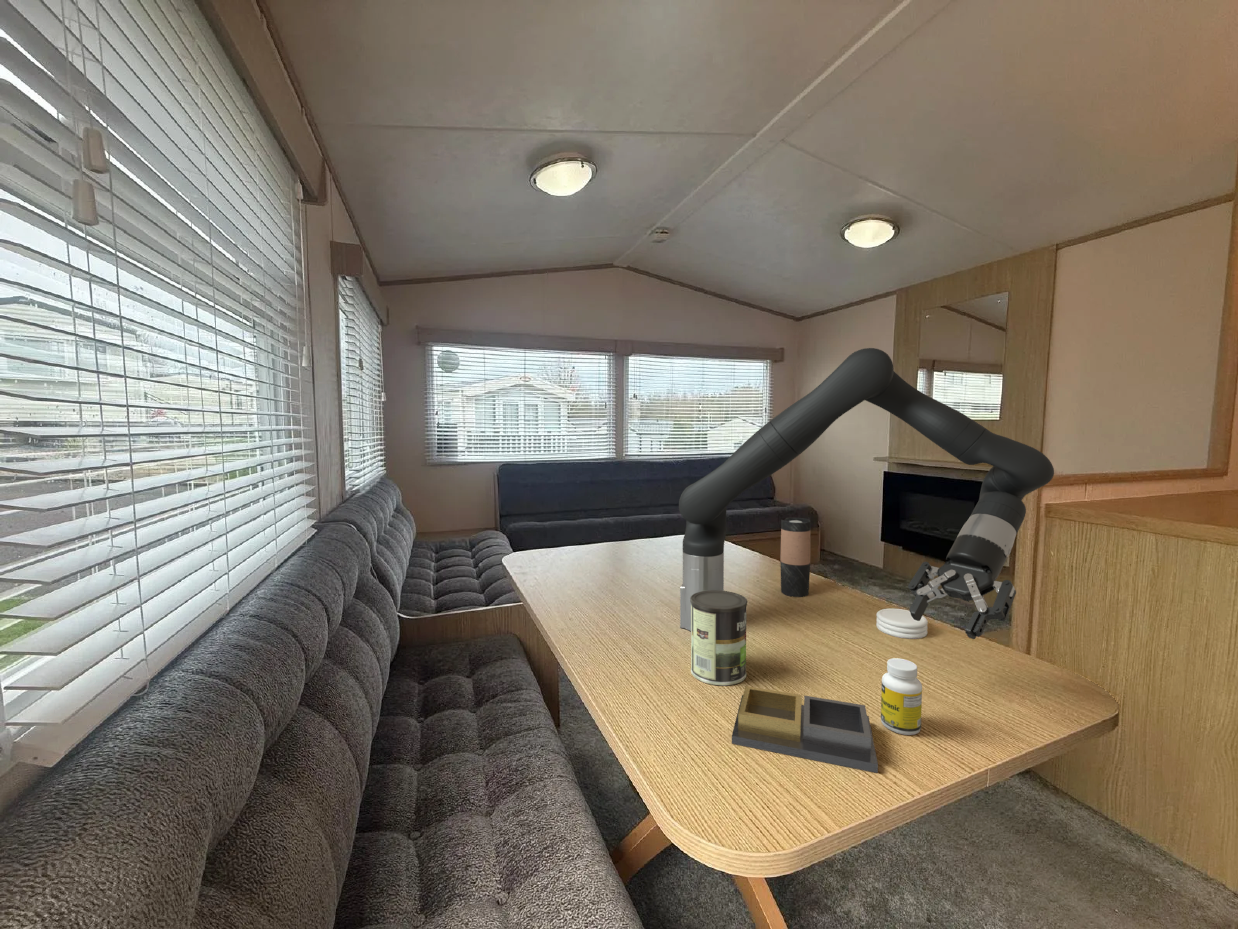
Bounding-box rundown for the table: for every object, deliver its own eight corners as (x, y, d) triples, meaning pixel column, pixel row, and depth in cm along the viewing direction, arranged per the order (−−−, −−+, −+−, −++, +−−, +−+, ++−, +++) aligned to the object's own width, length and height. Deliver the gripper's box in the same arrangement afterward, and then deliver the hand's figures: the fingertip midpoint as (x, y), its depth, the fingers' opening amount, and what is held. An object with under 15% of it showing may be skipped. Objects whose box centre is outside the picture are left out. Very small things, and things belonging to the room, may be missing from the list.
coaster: (938, 638, 111) (939, 622, 111) (896, 641, 110) (896, 625, 109) (905, 621, 121) (906, 606, 121) (866, 624, 119) (867, 609, 119)
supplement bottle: (873, 717, 81) (874, 656, 81) (905, 715, 82) (907, 655, 81) (894, 737, 76) (896, 673, 75) (929, 735, 77) (931, 671, 76)
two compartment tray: (731, 743, 75) (731, 719, 75) (742, 701, 86) (742, 680, 86) (877, 773, 68) (878, 746, 68) (868, 723, 80) (868, 700, 79)
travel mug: (813, 597, 137) (815, 522, 136) (784, 597, 137) (786, 522, 136) (804, 588, 145) (805, 517, 143) (776, 588, 145) (777, 517, 143)
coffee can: (749, 664, 100) (750, 592, 98) (742, 690, 90) (743, 611, 89) (696, 656, 103) (696, 587, 102) (684, 680, 94) (684, 604, 92)
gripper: (930, 526, 92) (889, 600, 88) (1024, 541, 80) (982, 629, 75) (945, 551, 95) (906, 624, 91) (1038, 570, 83) (998, 656, 78)
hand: (940, 626), depth 83 cm, fingers open, 8 cm apart
